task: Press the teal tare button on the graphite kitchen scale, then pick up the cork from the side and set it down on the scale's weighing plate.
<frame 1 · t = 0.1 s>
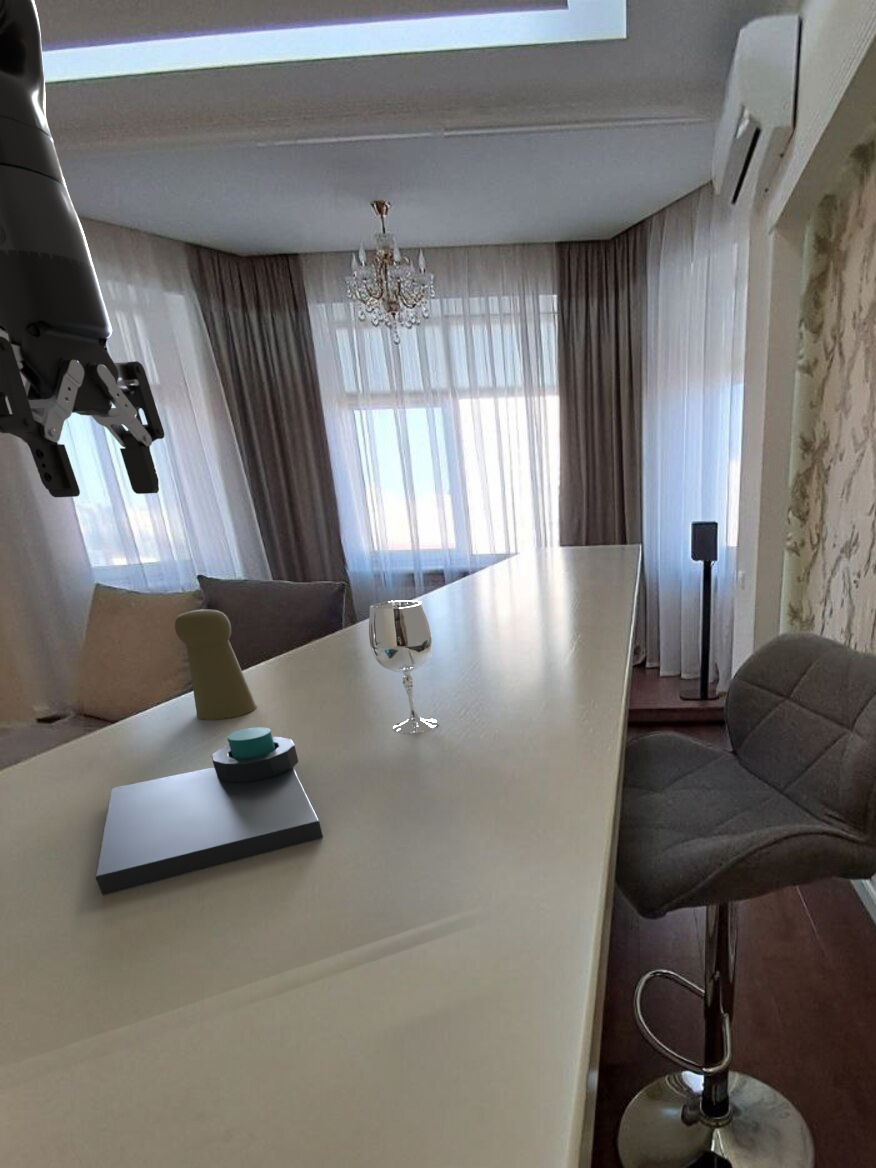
hand: (109, 495, 58), 22 cm above the table, tool pointing down, fingers open, 8 cm apart
tare button: (251, 743, 55), point 4 cm above the table, slide at 0.1 cm
scale: (213, 820, 51), on the table
wineglass: (415, 728, 69), on the table
cork: (227, 712, 76), on the table
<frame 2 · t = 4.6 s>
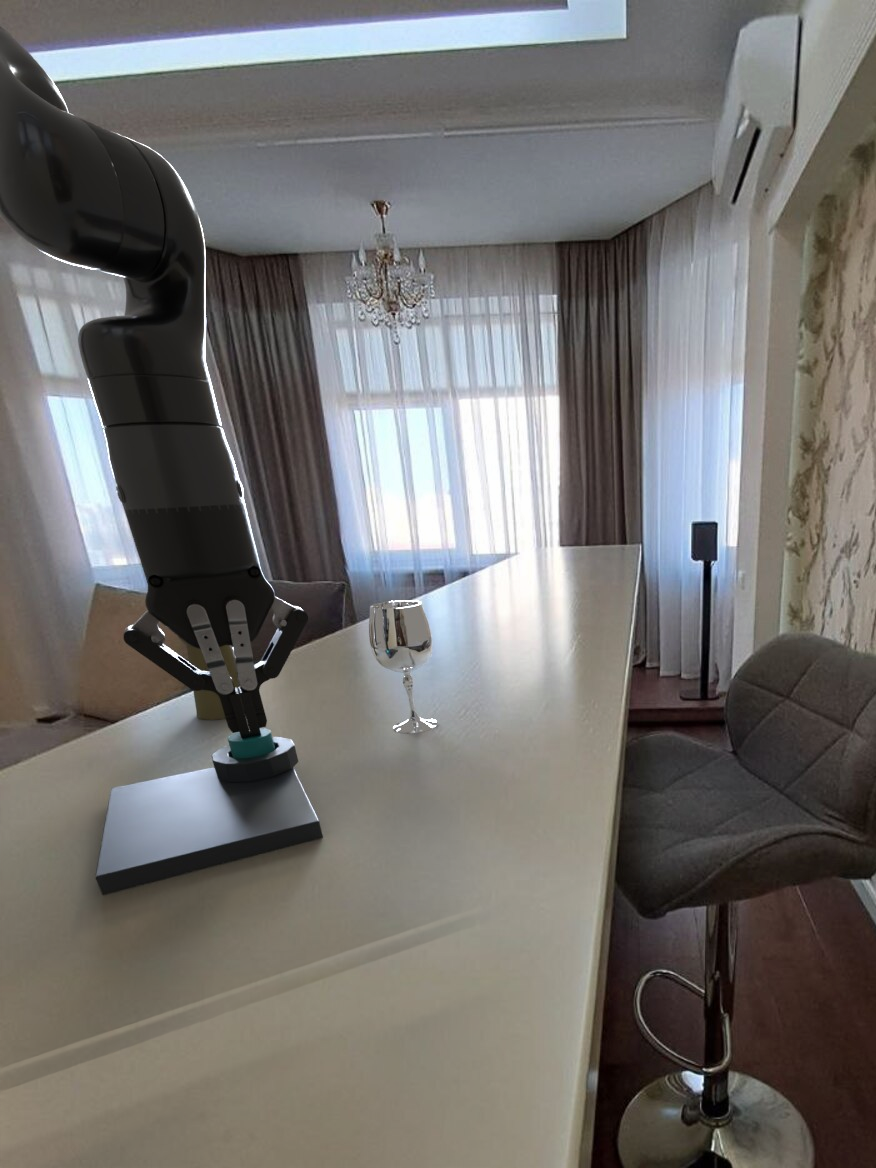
hand: (250, 734, 55), 4 cm above the table, tool pointing down, fingers closed
tare button: (252, 744, 55), point 3 cm above the table, slide at 0.0 cm, touching gripper
everything else where it was.
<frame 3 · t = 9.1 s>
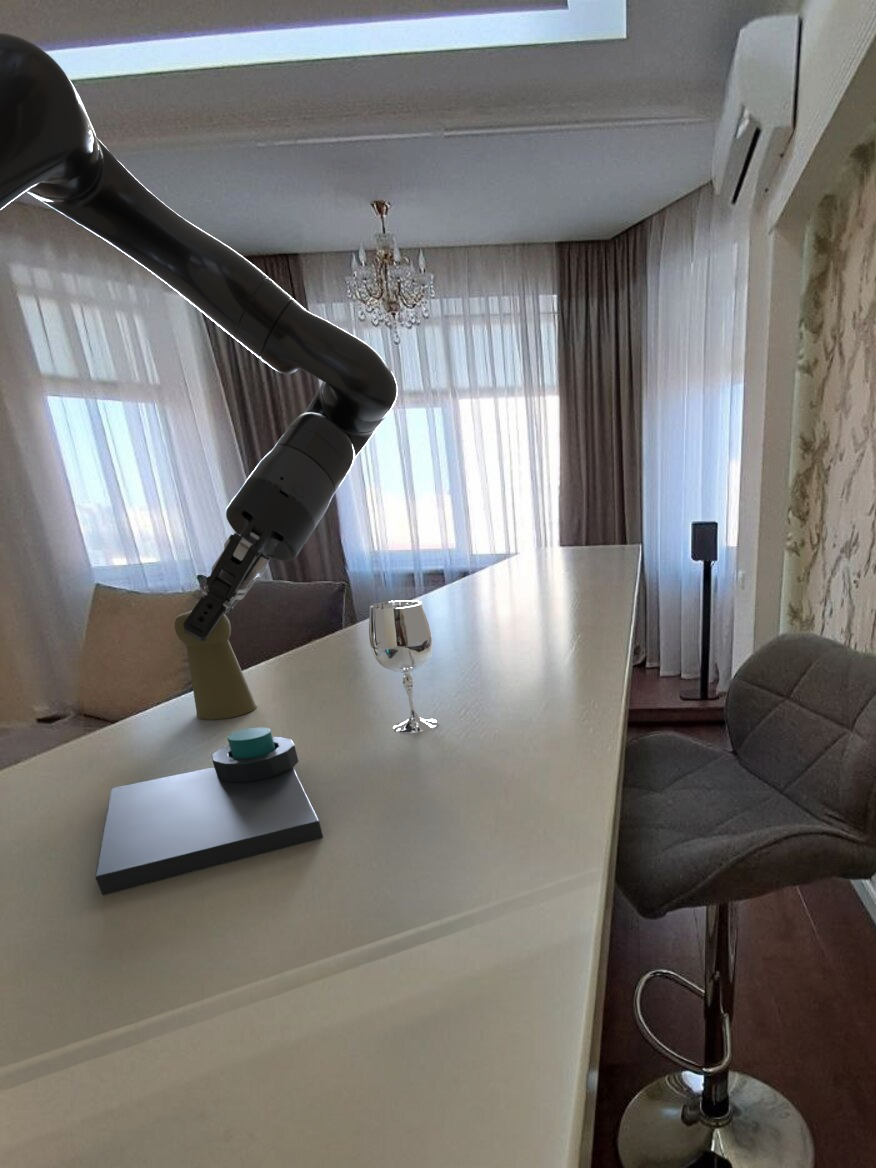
hand: (192, 634, 67), 10 cm above the table, tool tilted 50°, fingers closed
tare button: (251, 743, 55), point 4 cm above the table, slide at 0.1 cm
cork: (227, 712, 76), on the table, touching gripper
everything else where it was.
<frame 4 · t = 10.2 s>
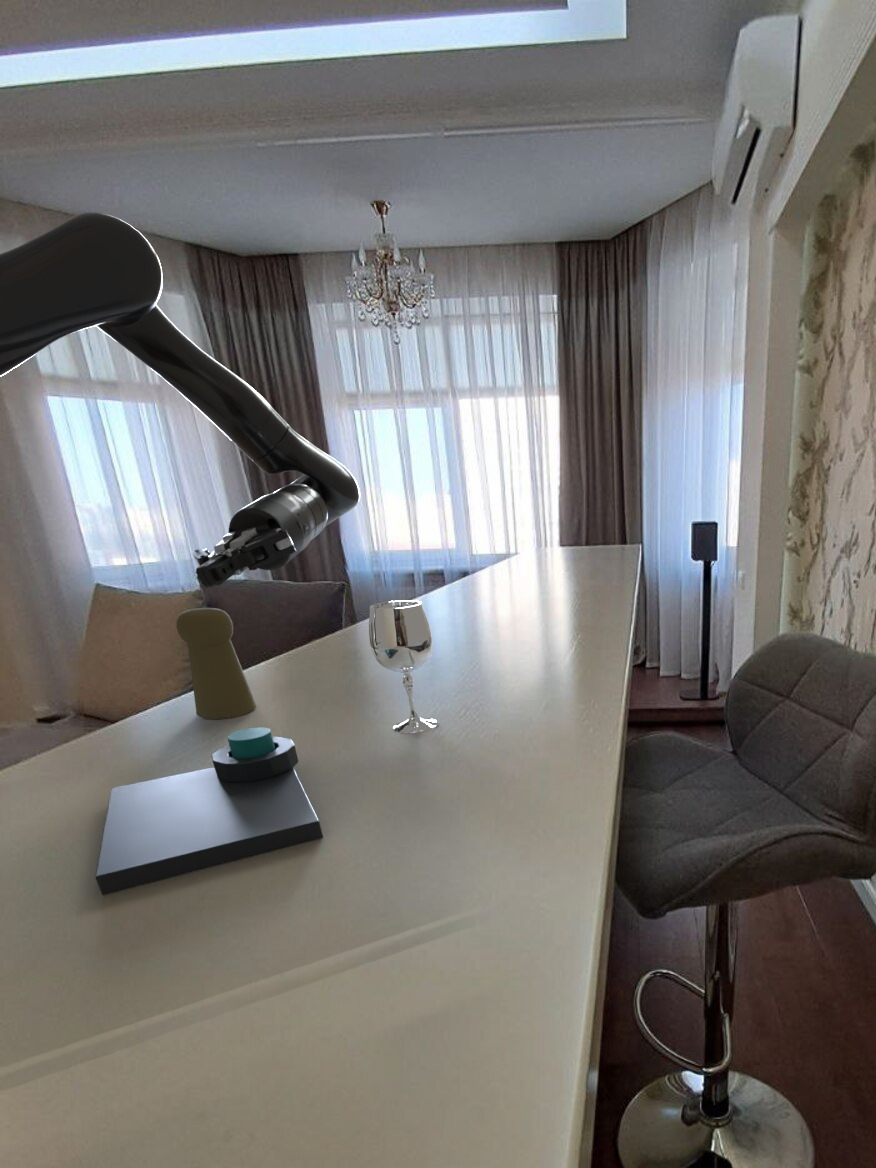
hand: (206, 578, 73), 14 cm above the table, tool horizontal, fingers closed
cork: (227, 710, 76), on the table
everything else where it was.
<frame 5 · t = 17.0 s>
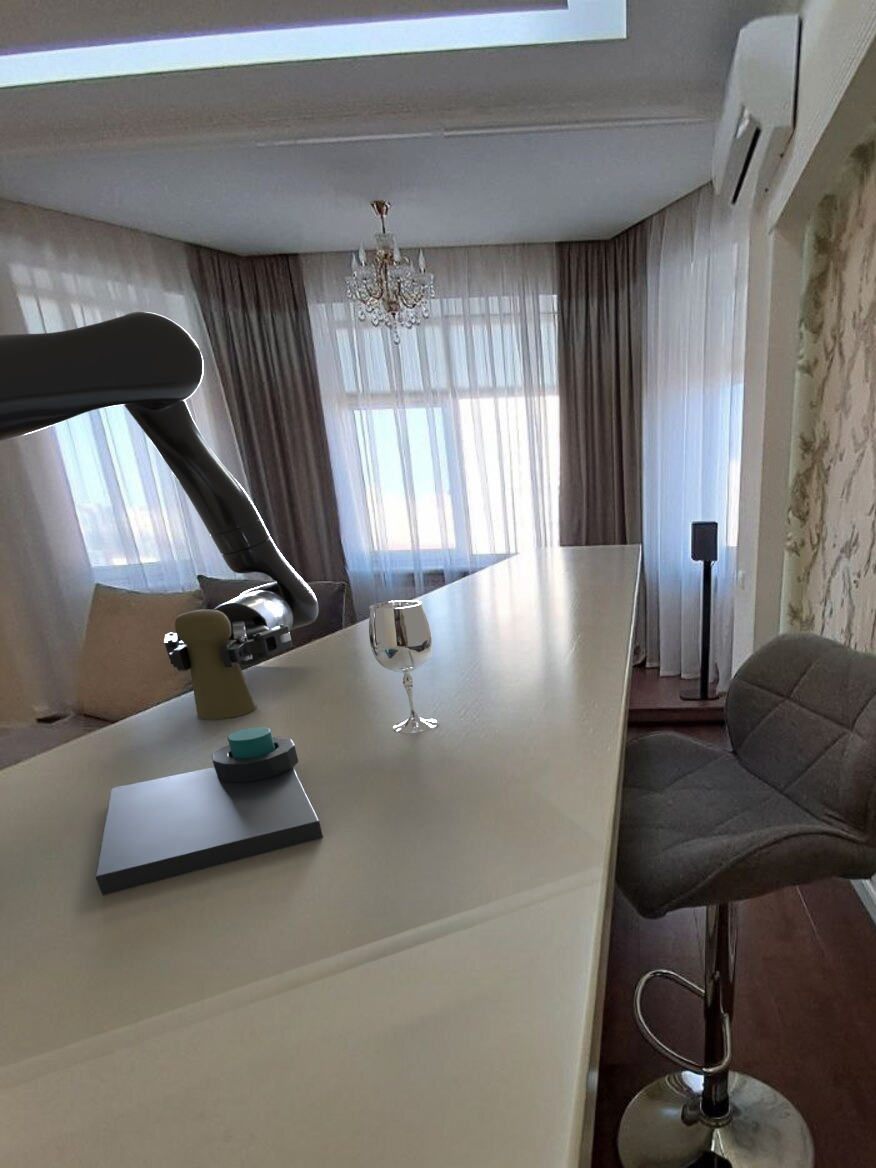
hand: (202, 659, 71), 6 cm above the table, tool horizontal, fingers closed on cork, 4 cm apart
cork: (228, 712, 76), on the table, touching gripper
everything else where it was.
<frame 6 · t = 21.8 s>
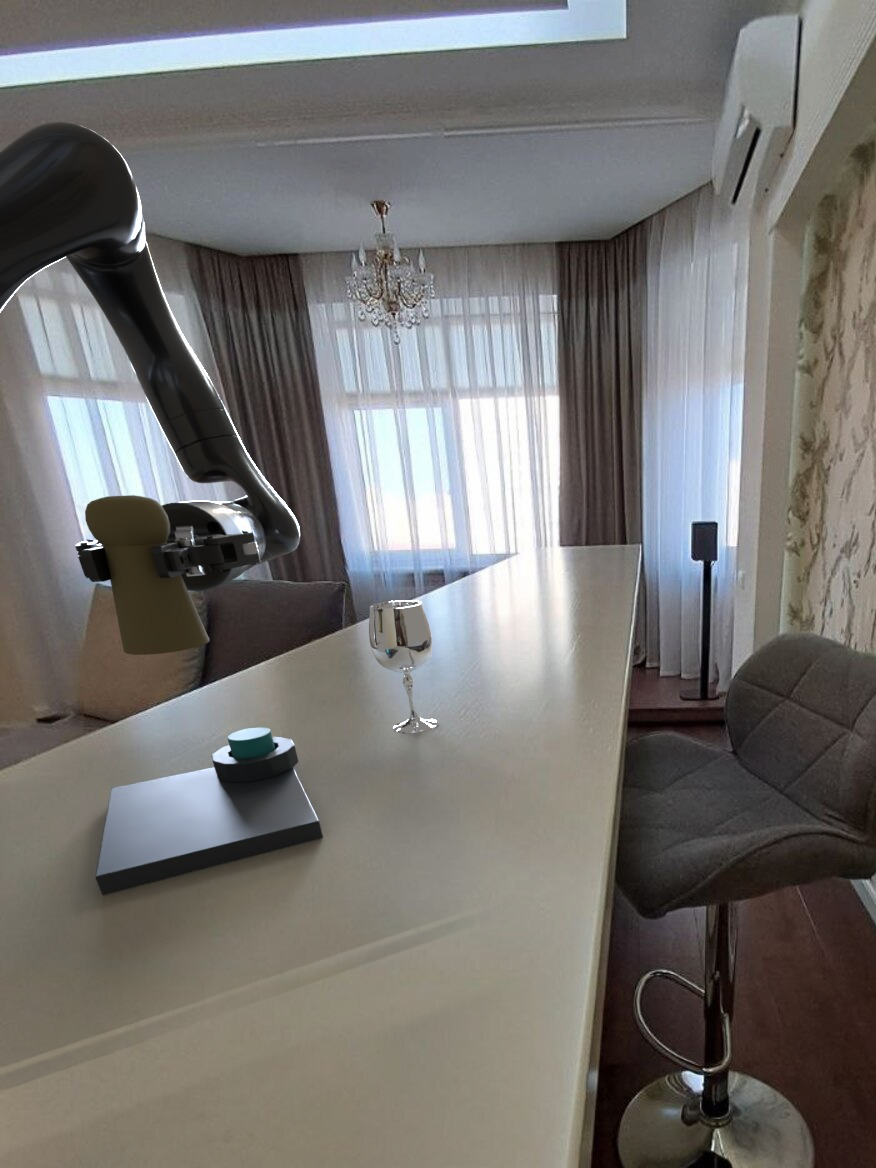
hand: (126, 564, 49), 18 cm above the table, tool horizontal, fingers closed on cork, 4 cm apart
cork: (168, 648, 55), point 11 cm above the table, touching gripper
everything else where it was.
when the fingers open (8 cm above the table, at t = 26.6 s): cork stays where it is, resting on scale.
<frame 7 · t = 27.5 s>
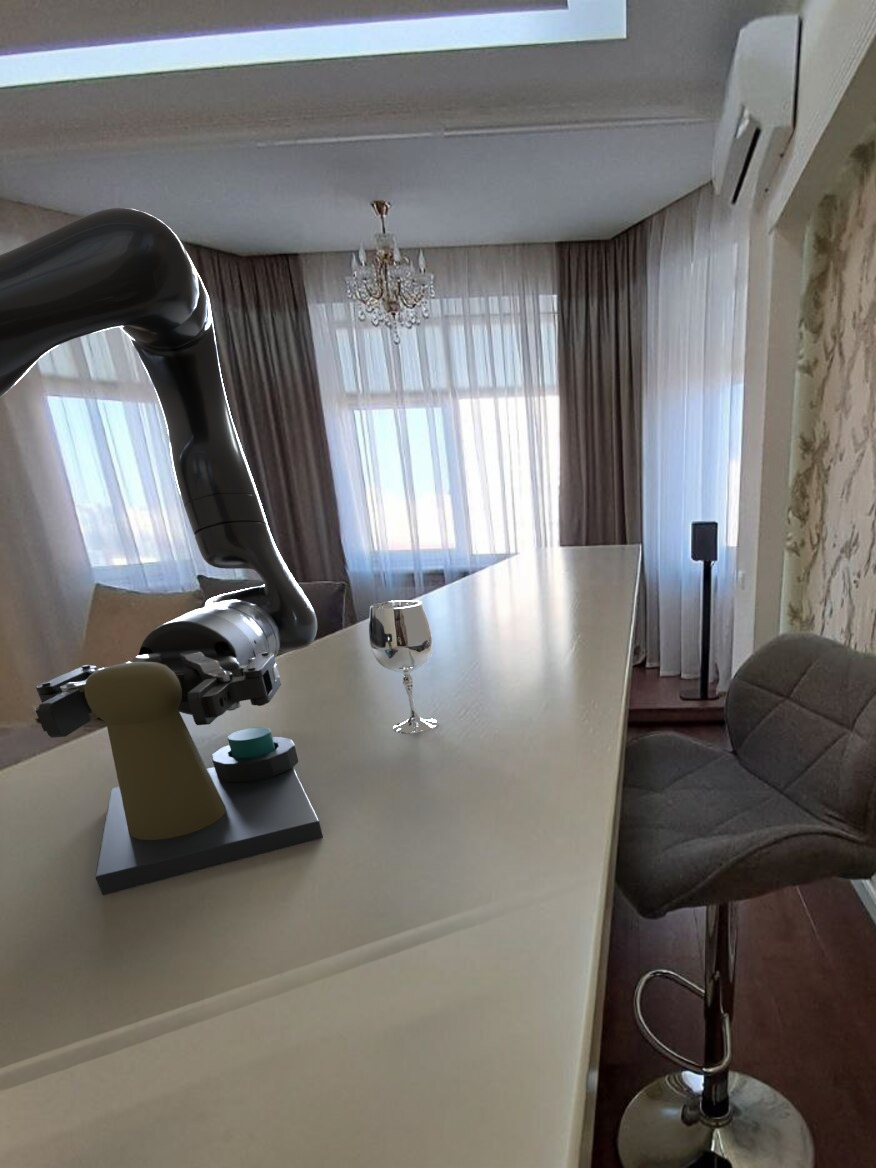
hand: (124, 716, 43), 10 cm above the table, tool horizontal, fingers open, 8 cm apart
cork: (179, 821, 48), point 1 cm above the table, touching scale
everything else where it was.
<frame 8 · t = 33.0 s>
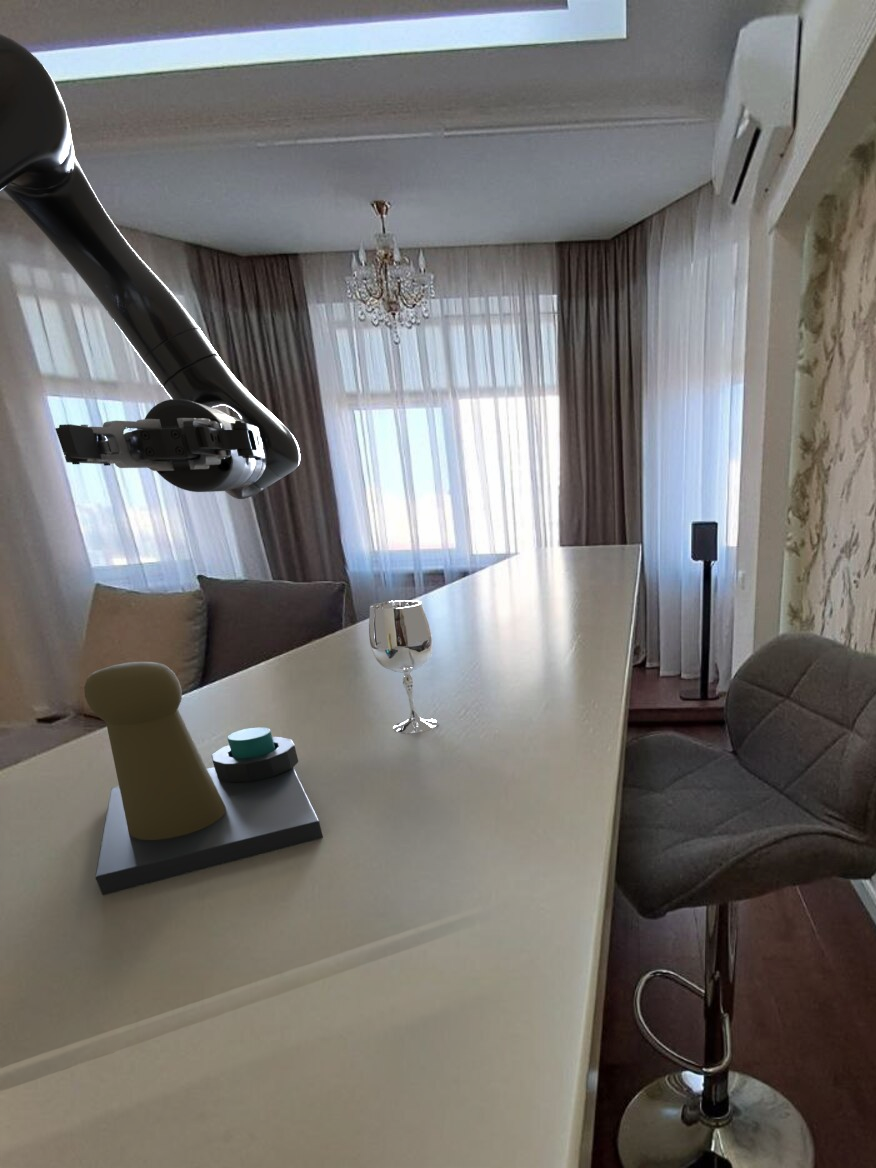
hand: (130, 438, 51), 26 cm above the table, tool horizontal, fingers open, 8 cm apart
nothing on the table moved.
at the end: tare button pushed in 0.9 cm at the most during the clip, back to where it started at the end; cork inside the target area on the scale (0.7 cm from its centre), point 1.2 cm above the scale's base; cork tilted 0° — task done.
